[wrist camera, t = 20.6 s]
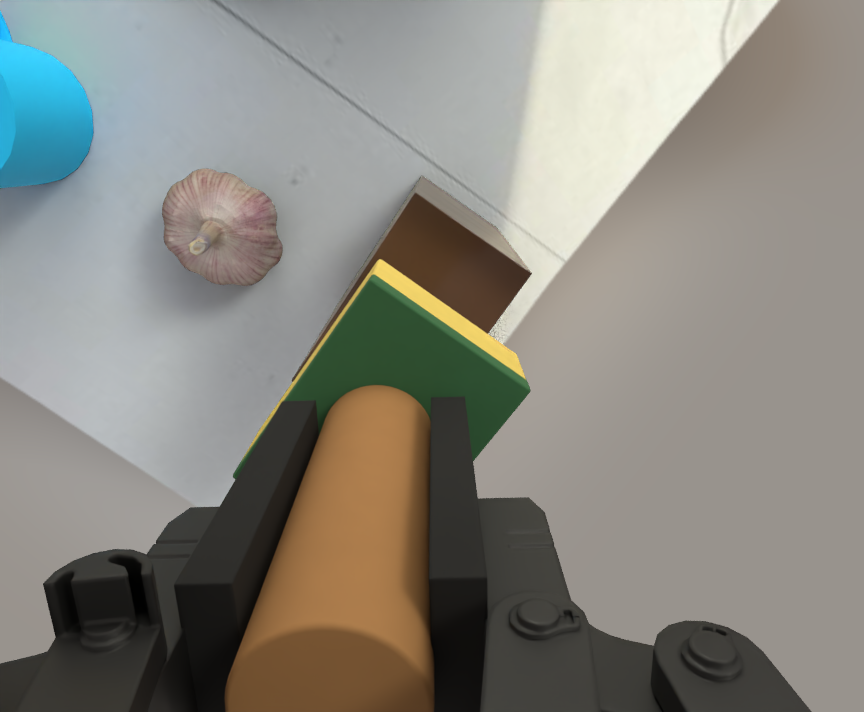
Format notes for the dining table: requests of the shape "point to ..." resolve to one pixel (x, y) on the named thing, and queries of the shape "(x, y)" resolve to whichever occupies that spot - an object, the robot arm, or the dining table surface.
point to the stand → (445, 258)
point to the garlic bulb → (221, 228)
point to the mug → (39, 116)
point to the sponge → (367, 506)
